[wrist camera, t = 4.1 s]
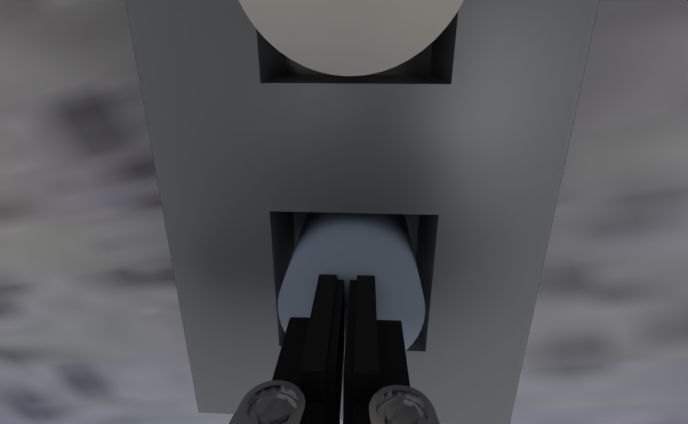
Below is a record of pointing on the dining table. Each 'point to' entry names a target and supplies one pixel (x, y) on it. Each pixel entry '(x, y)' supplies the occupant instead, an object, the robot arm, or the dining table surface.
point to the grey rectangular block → (363, 181)
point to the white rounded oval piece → (350, 31)
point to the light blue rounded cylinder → (356, 267)
